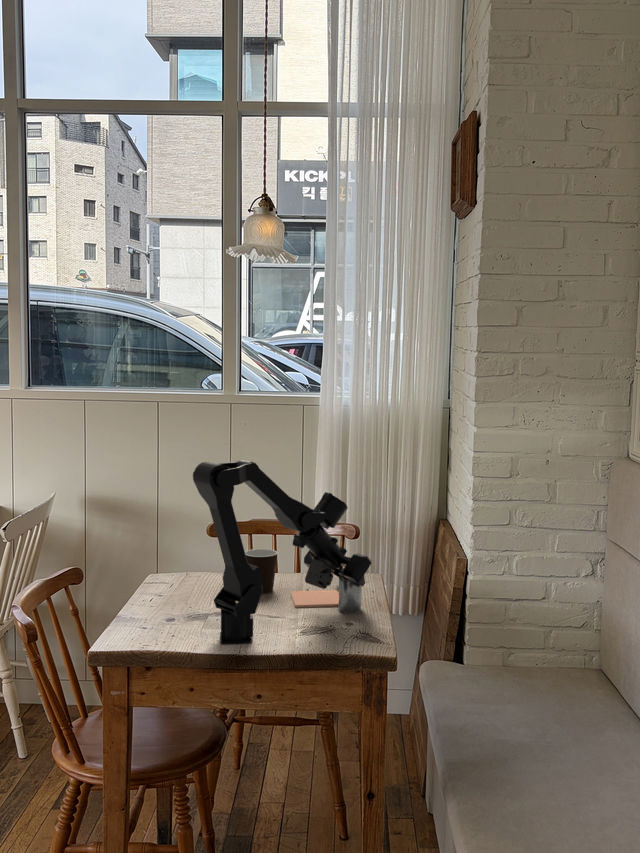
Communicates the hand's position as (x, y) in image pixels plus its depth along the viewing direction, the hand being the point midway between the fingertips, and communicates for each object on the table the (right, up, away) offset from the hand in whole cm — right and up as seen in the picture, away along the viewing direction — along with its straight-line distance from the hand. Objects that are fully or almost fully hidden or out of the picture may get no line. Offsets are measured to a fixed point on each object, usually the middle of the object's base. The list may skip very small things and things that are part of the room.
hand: (354, 581), depth 201 cm
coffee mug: (-24, -5, +17) cm, 29 cm away
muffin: (-2, -5, +20) cm, 20 cm away
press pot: (-1, -7, 0) cm, 7 cm away
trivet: (-9, -6, +8) cm, 13 cm away
